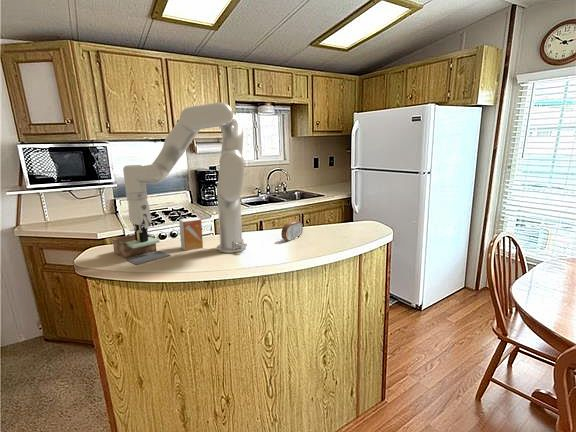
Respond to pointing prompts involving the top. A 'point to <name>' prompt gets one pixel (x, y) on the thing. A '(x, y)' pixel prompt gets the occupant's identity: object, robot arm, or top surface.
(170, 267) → the top surface
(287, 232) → the bread slice
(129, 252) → the box
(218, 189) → the robot arm
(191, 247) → the small box
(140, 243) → the lid
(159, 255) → the mat
